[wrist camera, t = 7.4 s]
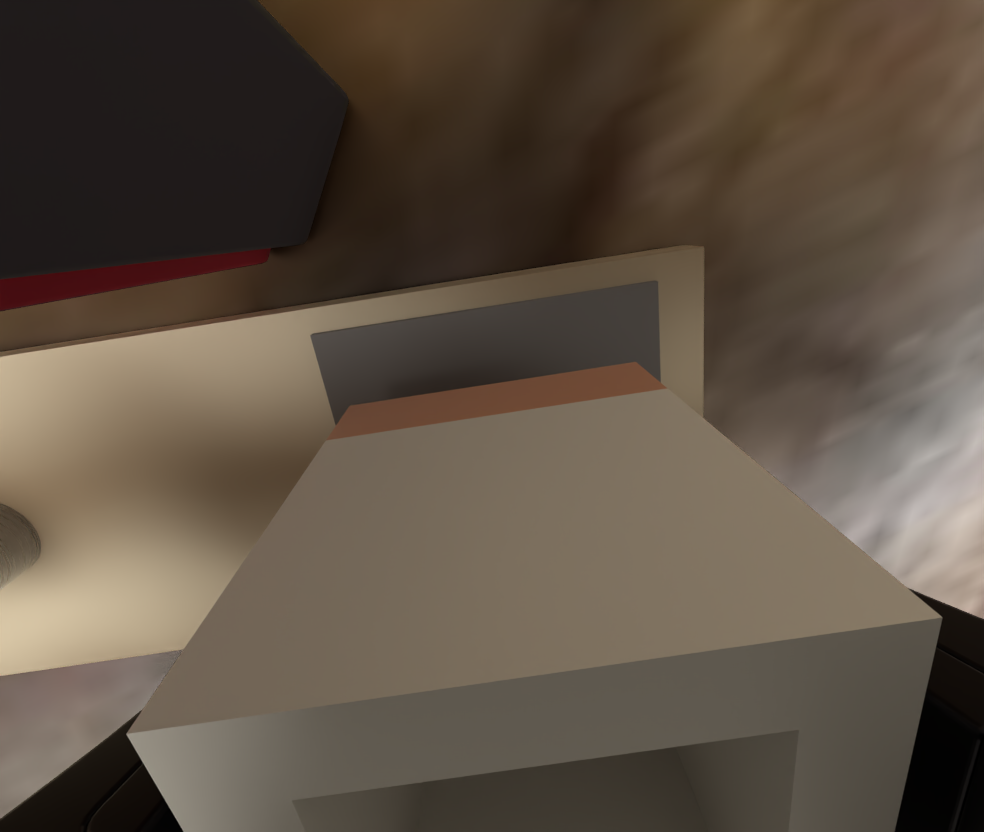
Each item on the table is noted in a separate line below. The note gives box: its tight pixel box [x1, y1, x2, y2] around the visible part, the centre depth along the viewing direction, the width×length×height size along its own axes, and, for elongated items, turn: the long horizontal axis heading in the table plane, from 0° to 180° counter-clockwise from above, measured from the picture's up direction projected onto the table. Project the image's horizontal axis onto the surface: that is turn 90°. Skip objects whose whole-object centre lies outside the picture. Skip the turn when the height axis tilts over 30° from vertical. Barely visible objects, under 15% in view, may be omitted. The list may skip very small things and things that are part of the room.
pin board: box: [0, 245, 704, 676], centre depth 12 cm, size 8×21×1 cm, turn 98°
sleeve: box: [126, 362, 943, 832], centre depth 7 cm, size 5×5×6 cm
